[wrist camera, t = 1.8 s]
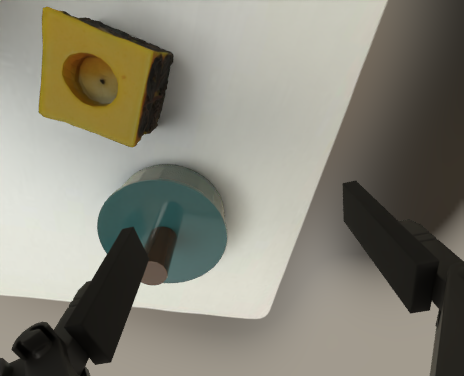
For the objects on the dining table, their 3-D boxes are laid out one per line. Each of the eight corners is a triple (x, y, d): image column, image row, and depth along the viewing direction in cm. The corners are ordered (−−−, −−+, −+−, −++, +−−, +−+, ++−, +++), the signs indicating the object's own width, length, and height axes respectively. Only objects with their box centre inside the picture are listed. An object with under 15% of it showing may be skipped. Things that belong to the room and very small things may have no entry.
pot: (119, 246, 46) (105, 271, 41) (116, 156, 38) (99, 172, 33) (215, 258, 48) (214, 283, 43) (232, 173, 40) (233, 191, 35)
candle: (157, 128, 37) (135, 151, 28) (84, 102, 35) (35, 117, 26) (176, 53, 32) (158, 52, 23) (94, 18, 30) (40, 3, 22)
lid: (103, 270, 42) (78, 316, 34) (97, 166, 33) (61, 196, 26) (217, 283, 43) (215, 328, 36) (237, 187, 35) (240, 221, 28)
